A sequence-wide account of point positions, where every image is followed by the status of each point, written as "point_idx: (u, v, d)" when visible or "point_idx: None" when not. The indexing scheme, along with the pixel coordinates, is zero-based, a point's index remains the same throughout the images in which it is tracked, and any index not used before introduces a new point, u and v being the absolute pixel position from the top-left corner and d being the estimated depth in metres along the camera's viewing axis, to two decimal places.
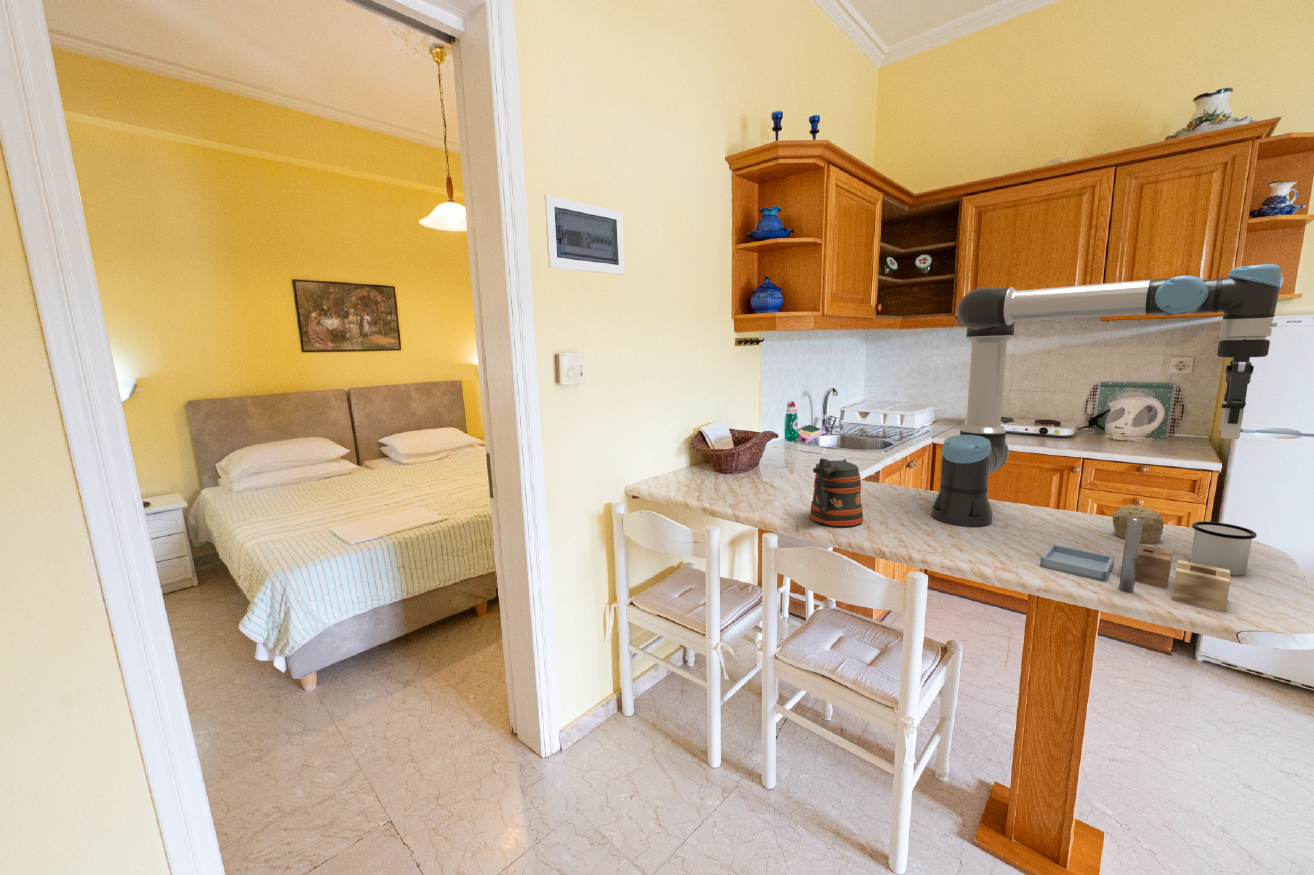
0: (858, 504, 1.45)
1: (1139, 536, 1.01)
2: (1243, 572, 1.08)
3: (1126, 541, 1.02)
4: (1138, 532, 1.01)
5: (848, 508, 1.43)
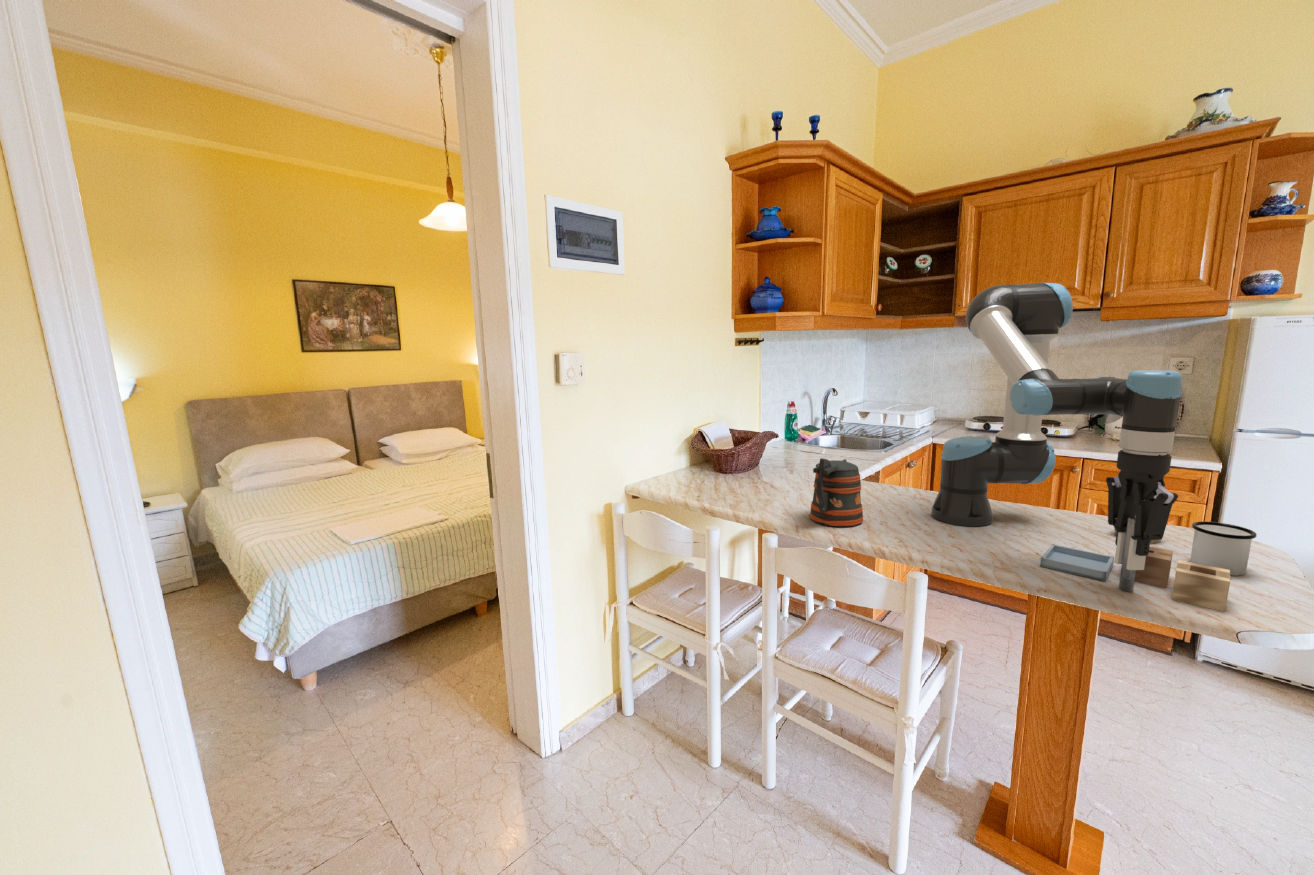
0: (858, 504, 1.45)
1: None
2: (1243, 572, 1.08)
3: (1126, 541, 1.02)
4: None
5: (848, 508, 1.43)
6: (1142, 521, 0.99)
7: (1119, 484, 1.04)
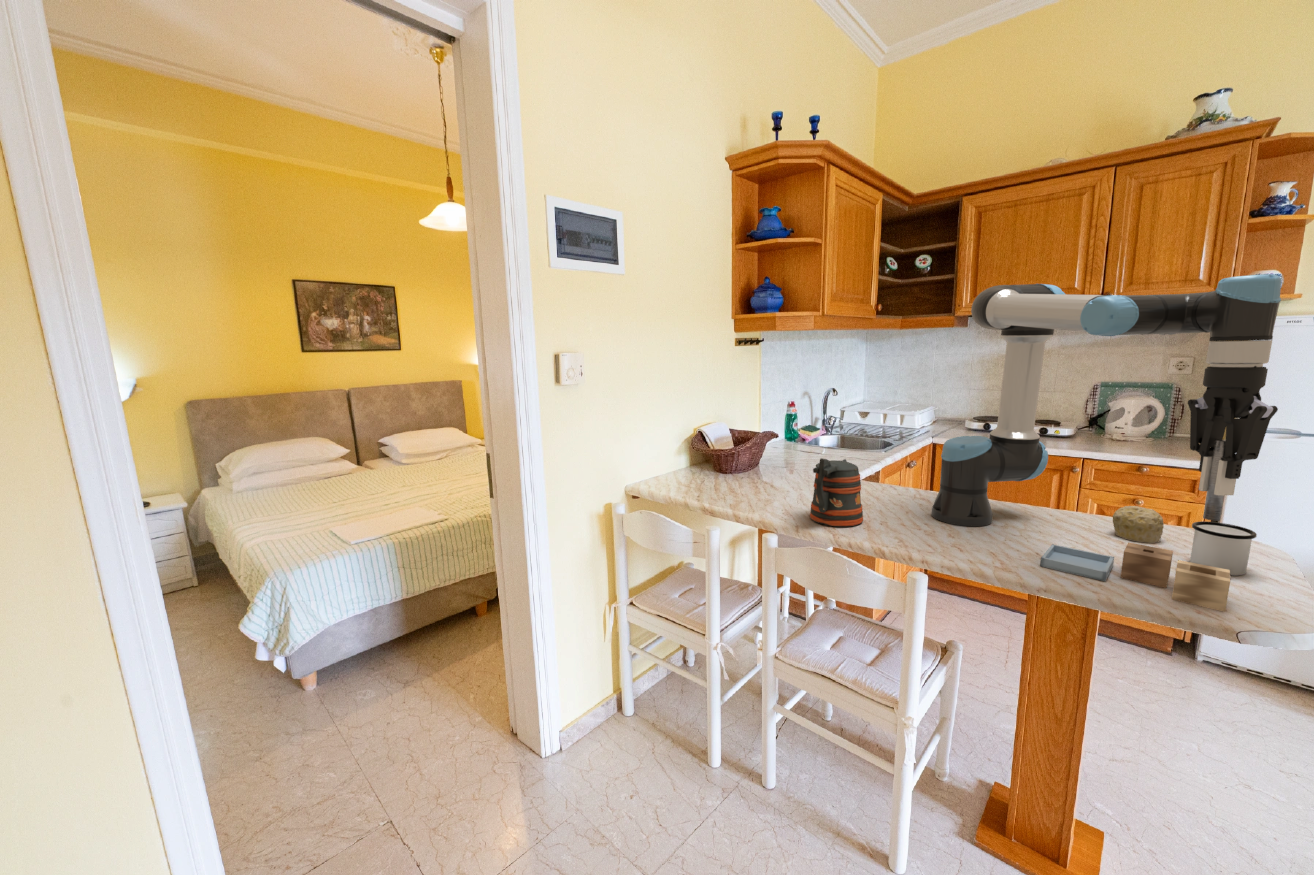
0: (858, 504, 1.45)
1: None
2: (1243, 572, 1.08)
3: (1213, 465, 0.95)
4: None
5: (848, 508, 1.43)
6: (1234, 440, 0.92)
7: (1204, 405, 0.97)
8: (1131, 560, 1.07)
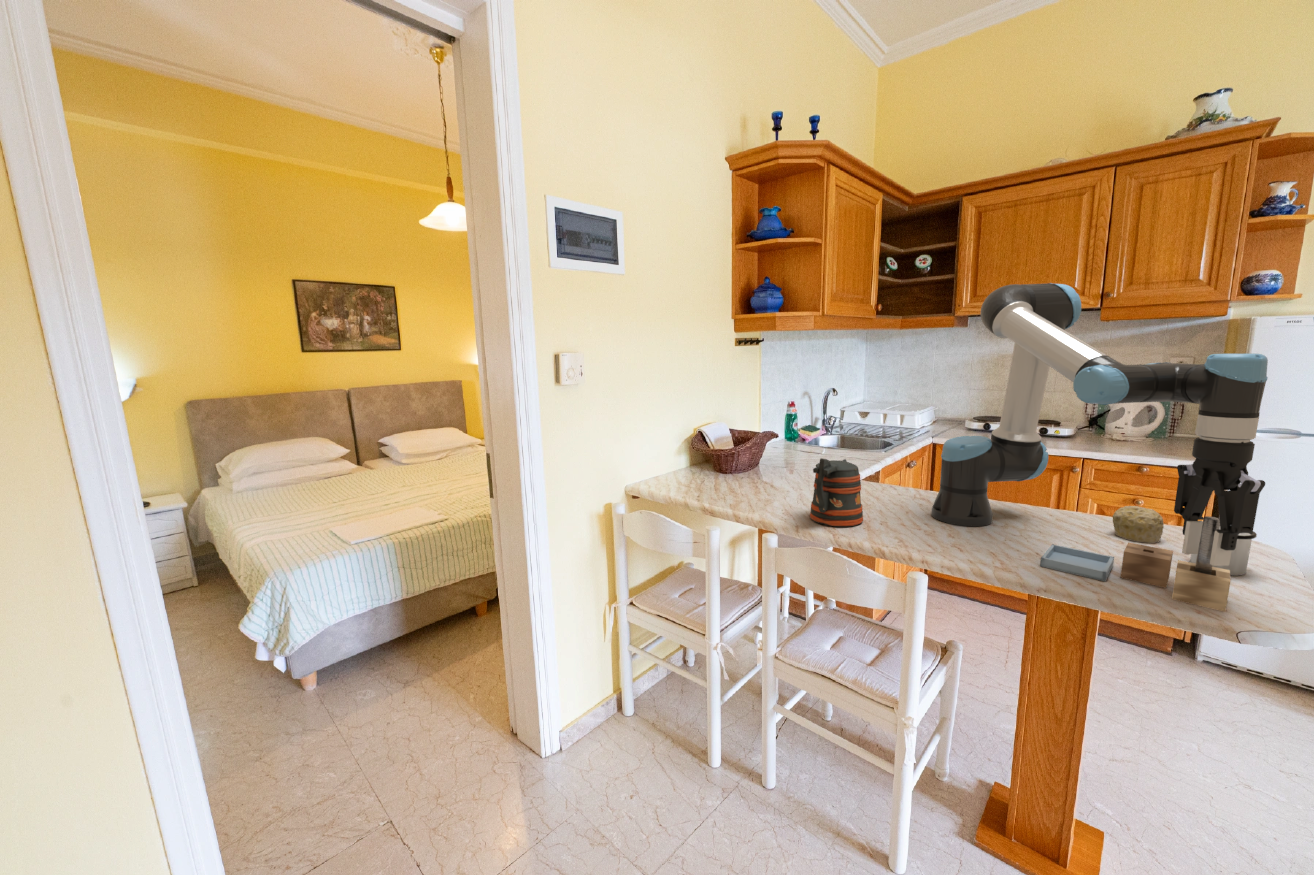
0: (858, 504, 1.45)
1: None
2: (1243, 572, 1.08)
3: (1201, 542, 0.97)
4: None
5: (848, 508, 1.43)
6: (1227, 512, 0.93)
7: (1192, 473, 1.00)
8: (1131, 560, 1.07)
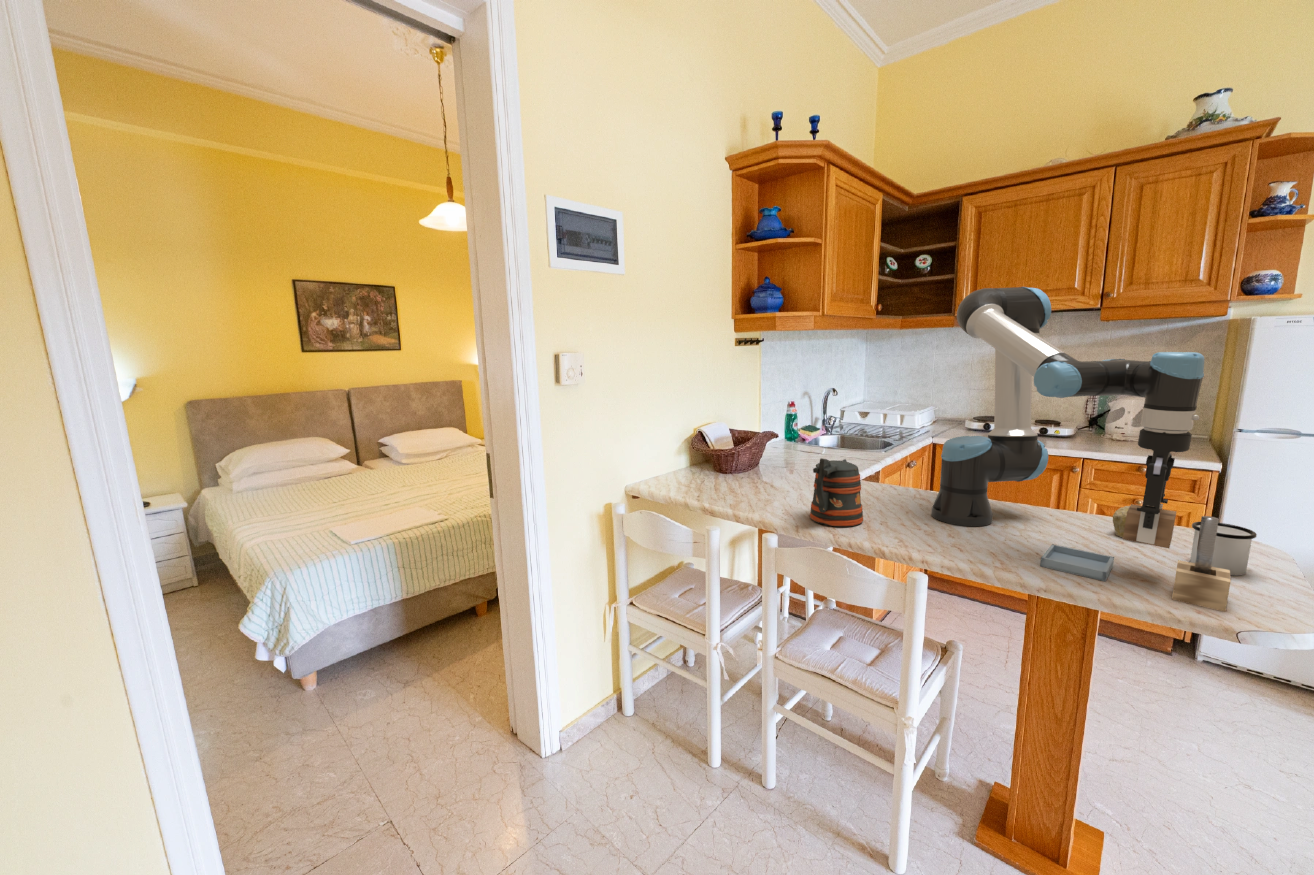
0: (858, 504, 1.45)
1: (1215, 536, 0.96)
2: (1243, 572, 1.08)
3: (1200, 541, 0.98)
4: (1213, 532, 0.96)
5: (848, 508, 1.43)
6: None
7: None
8: (1134, 521, 1.07)
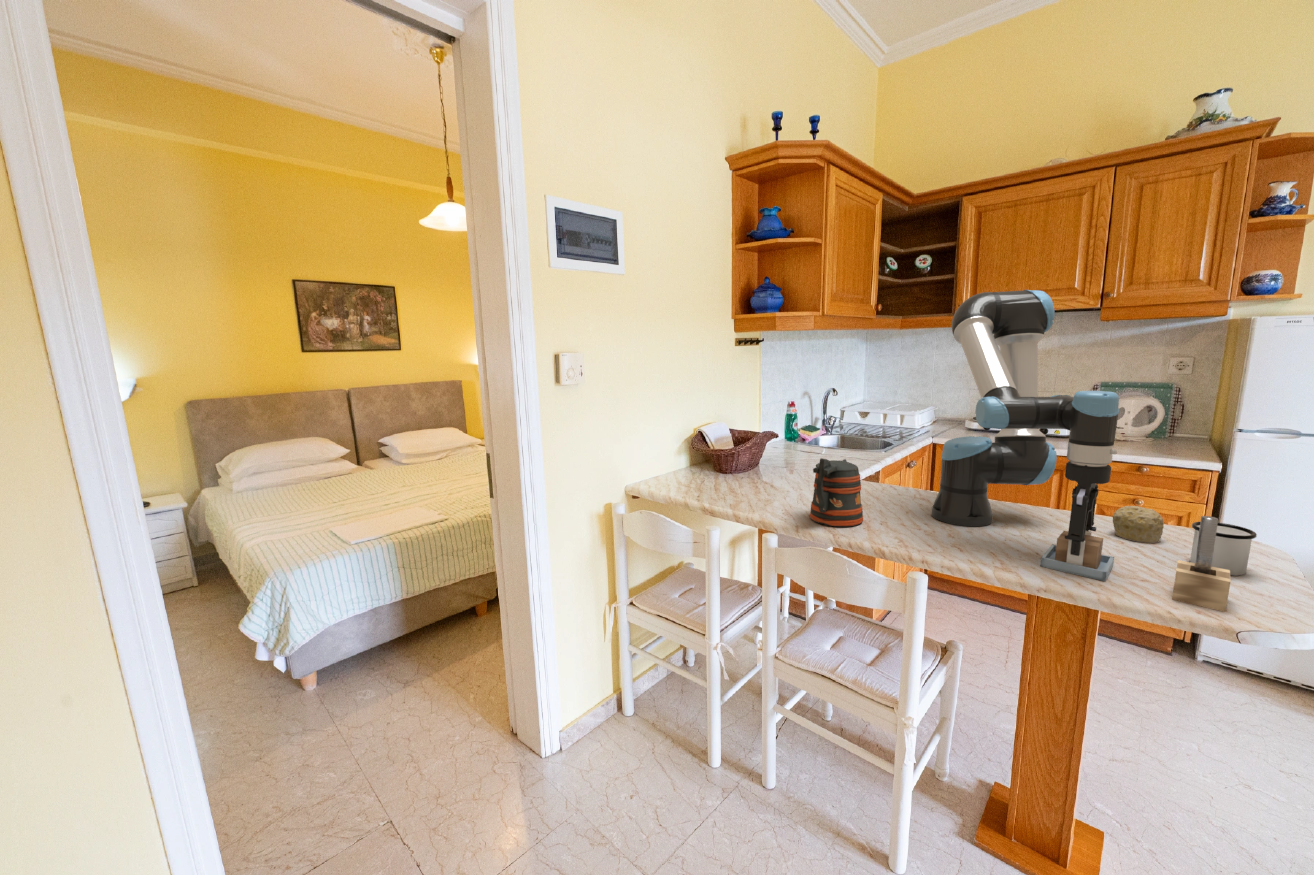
0: (858, 504, 1.45)
1: (1214, 536, 0.96)
2: (1243, 572, 1.08)
3: (1200, 541, 0.98)
4: (1213, 532, 0.96)
5: (848, 508, 1.43)
6: None
7: None
8: (1063, 547, 1.14)
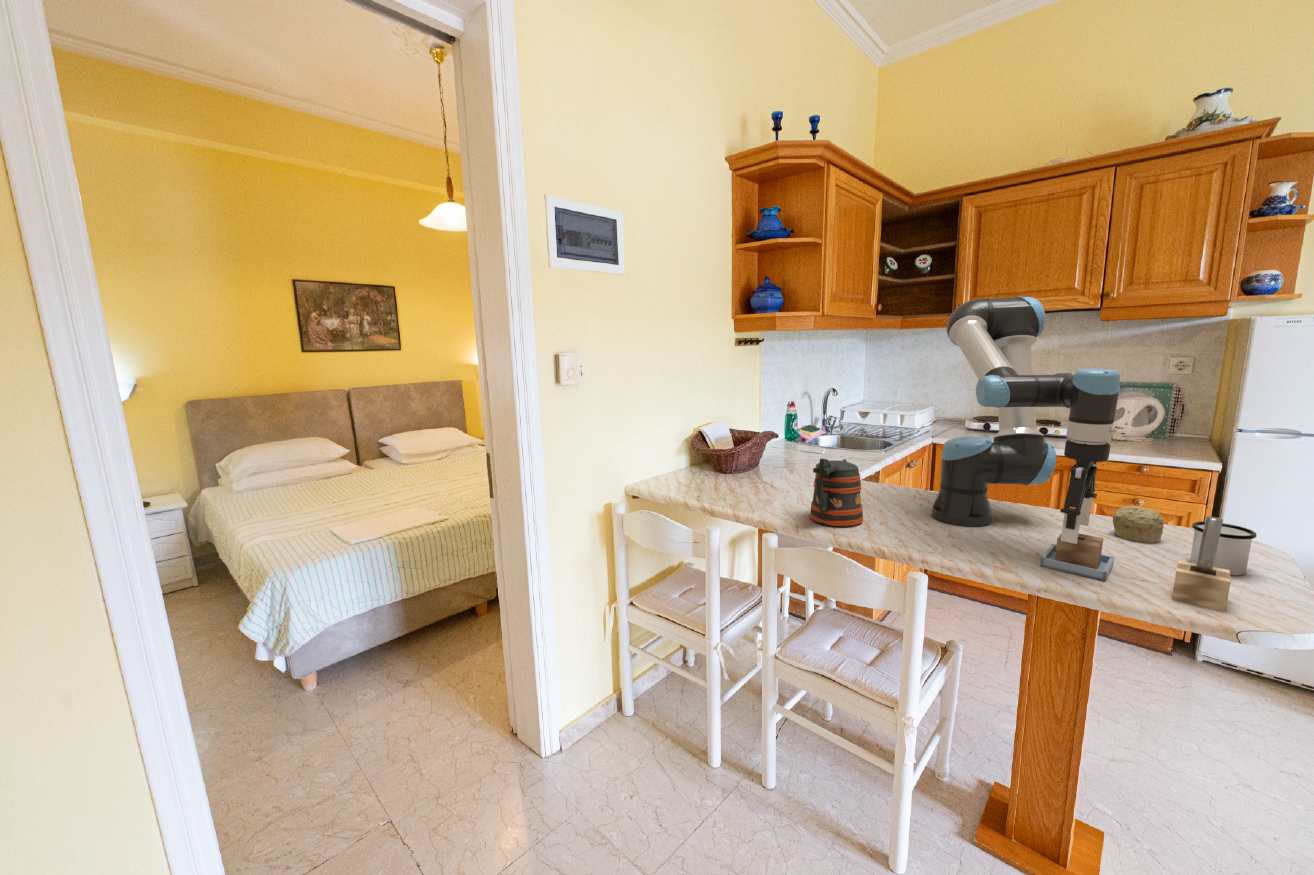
0: (858, 504, 1.45)
1: (1218, 537, 0.96)
2: (1243, 572, 1.08)
3: (1203, 542, 0.97)
4: (1217, 533, 0.96)
5: (848, 508, 1.43)
6: None
7: None
8: (1063, 547, 1.14)
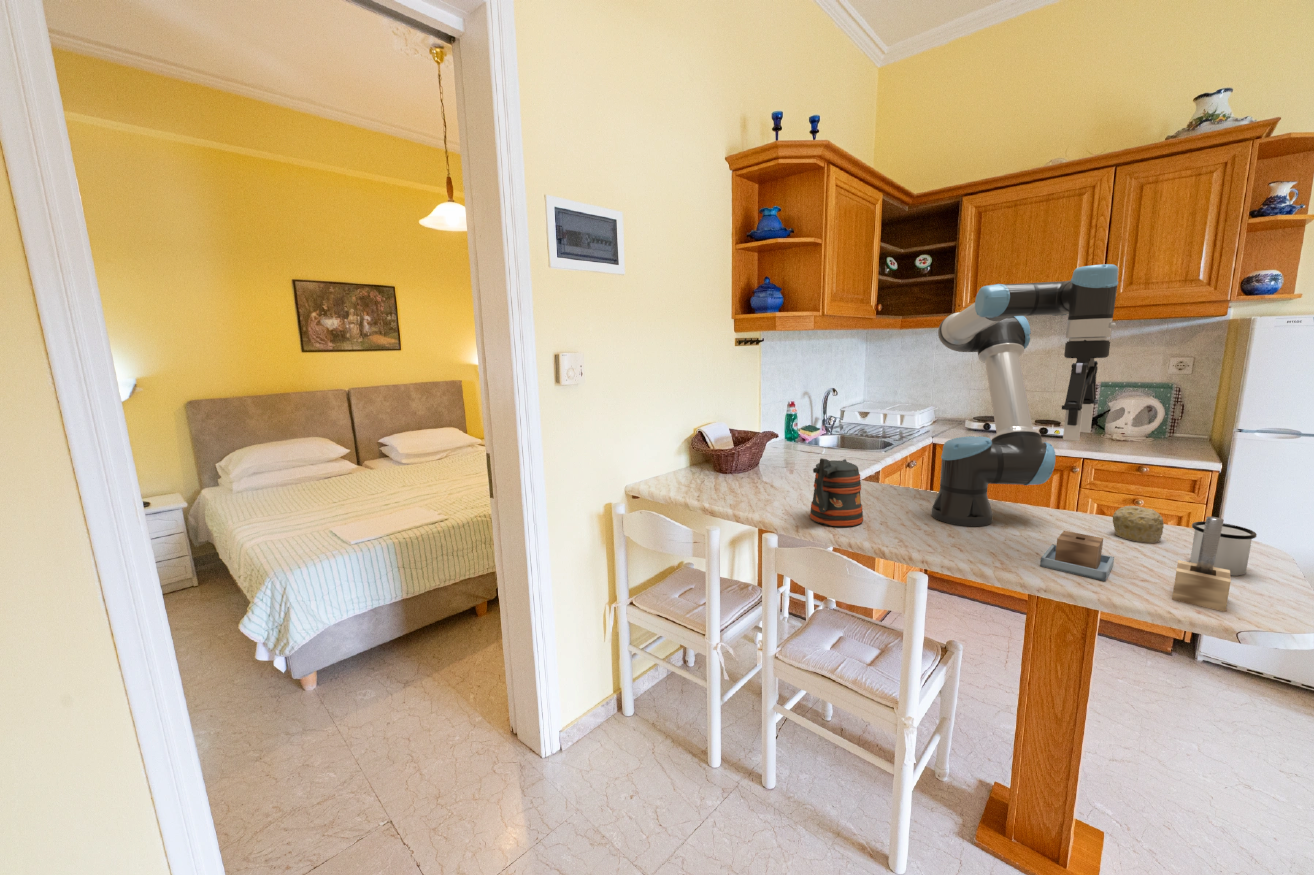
0: (858, 504, 1.45)
1: (1219, 537, 0.96)
2: (1243, 572, 1.08)
3: (1203, 542, 0.97)
4: (1217, 533, 0.96)
5: (848, 508, 1.43)
6: None
7: None
8: (1063, 547, 1.14)
